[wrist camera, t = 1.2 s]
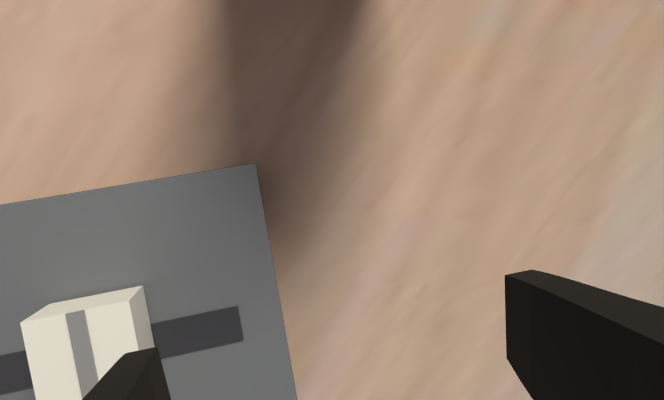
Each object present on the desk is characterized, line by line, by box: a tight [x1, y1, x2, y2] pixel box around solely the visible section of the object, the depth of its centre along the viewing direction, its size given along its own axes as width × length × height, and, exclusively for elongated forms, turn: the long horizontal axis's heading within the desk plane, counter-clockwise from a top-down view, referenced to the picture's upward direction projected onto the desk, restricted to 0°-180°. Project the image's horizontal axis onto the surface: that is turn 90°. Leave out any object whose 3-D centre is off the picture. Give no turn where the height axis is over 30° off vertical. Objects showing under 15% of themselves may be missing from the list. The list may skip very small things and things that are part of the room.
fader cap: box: [20, 285, 155, 400], centre depth 17 cm, size 4×3×3 cm
